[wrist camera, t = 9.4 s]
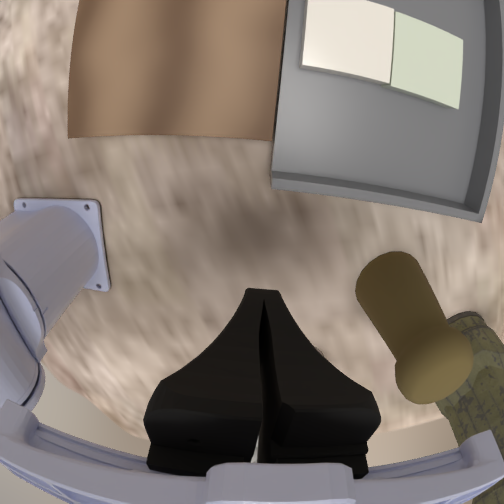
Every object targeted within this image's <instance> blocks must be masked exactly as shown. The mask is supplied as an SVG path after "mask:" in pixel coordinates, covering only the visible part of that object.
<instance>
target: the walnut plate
mask: <svg viewBox="0 0 504 504" xmlns="http://www.w3.org/2000/svg"><path fill="white" fill-rule="evenodd" d="M285 8H286V0H79V5H78V11H77V16H76V22H75V29H74V36H73V43H72V52H71V62H70V73H69V90H68V138H79V137H94V136H115V135H191V136H213V137H229V138H243V139H254V140H265V141H272V136H273V127H274V117H275V108H276V98H277V88H278V79H279V69H280V59H281V49H282V39H283V29H284V18H285Z"/></svg>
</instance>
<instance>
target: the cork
mask: <svg viewBox="0 0 504 504" xmlns="http://www.w3.org/2000/svg"><path fill="white" fill-rule="evenodd" d="M355 292H356V297H357V300H358V302H359V303H360V305H361V306H362V308H363V309H364V311H365V312H366V314H367V315H368V317H369V318H370V320H371V321H372V323H373V324H374V326H375V327H376V329H377V330H378V332H379V333H380V335H381V337H382V338H383V340H384V341H385V343H386V344H387V346H388V347H389V349H390V351H391V352H392V354H393V355H394V357H395V358H396V360H397V362H396V364H395V377H396V383H397V386H398V388H399V390H400V391H401V393H402V394H403V395H404V397H405V398H406V399H407V400H409V401H411V402H413V403H416V404H429V403H433V402H437V401H439V400H441V399H444V398H446V397H447V396H449V395H450V394H452V393H453V392H455V391H456V390H457V389H458V388H459V387H460V386H461V385H462V384H463V383H464V382H465V380H466V379H467V378H468V376H469V374H470V372H471V371H472V367H473V360H474V355H473V351H472V347H471V344H470V342H469V340H468V339H467V337H466V336H465V335H464V334H462V333H461V332H460V331H459V330H458V329H456V328H455V327H450V326H449V324H448V322H447V320H446V318H445V315H444V313H443V311H442V309H441V307H440V305H439V303H438V300H437V298H436V296H435V294H434V292H433V290H432V288H431V286H430V284H429V282H428V280H427V278H426V276H425V275H424V273H423V271H422V269H421V267H420V265H419V263H418V261H417V260H416V259H415V258H414V257H413V256H411V255H410V254H407V253H404V252H389V253H386V254H383V255H380V256H378V257H377V258H375V259H374V260H372V261H371V262H370V263H369V264H368V265H367V266H366V267H365V268H364V269H363V270H362V272H361V274H360V276H359V278H358V280H357V284H356V290H355Z"/></svg>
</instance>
